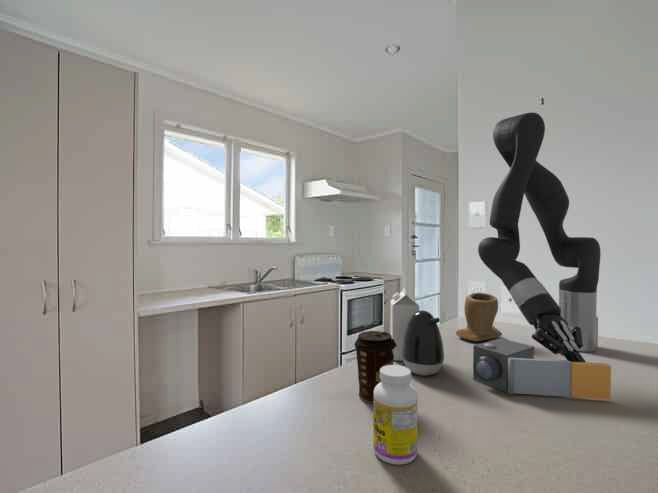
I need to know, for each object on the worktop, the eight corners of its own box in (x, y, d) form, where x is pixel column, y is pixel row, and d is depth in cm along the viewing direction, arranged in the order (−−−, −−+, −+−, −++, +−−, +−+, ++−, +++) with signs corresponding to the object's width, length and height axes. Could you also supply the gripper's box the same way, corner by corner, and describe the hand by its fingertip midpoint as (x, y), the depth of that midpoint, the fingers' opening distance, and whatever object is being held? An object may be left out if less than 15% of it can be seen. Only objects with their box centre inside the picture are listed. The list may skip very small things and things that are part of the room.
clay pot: (480, 347, 105) (480, 298, 104) (450, 337, 115) (450, 292, 115) (513, 340, 112) (513, 294, 111) (482, 331, 122) (482, 289, 122)
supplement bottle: (369, 441, 56) (369, 362, 56) (409, 439, 57) (409, 361, 56) (378, 468, 49) (378, 379, 49) (423, 466, 50) (424, 378, 50)
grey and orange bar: (605, 397, 71) (606, 362, 71) (611, 401, 69) (612, 365, 69) (506, 391, 74) (506, 357, 74) (509, 394, 72) (509, 360, 72)
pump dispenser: (421, 383, 78) (422, 317, 78) (393, 368, 88) (393, 308, 87) (454, 375, 83) (454, 312, 83) (423, 361, 92) (424, 305, 92)
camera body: (500, 369, 87) (500, 336, 86) (533, 381, 80) (534, 344, 80) (465, 382, 79) (466, 345, 79) (498, 395, 72) (499, 355, 72)
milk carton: (415, 353, 99) (415, 287, 99) (419, 361, 92) (419, 291, 92) (390, 352, 100) (390, 286, 100) (392, 361, 93) (392, 290, 93)
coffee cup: (399, 391, 74) (399, 331, 74) (393, 409, 66) (393, 342, 66) (359, 386, 77) (359, 328, 77) (349, 402, 69) (349, 338, 69)
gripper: (544, 308, 88) (592, 374, 77) (503, 311, 84) (547, 381, 73) (565, 291, 83) (619, 359, 71) (522, 292, 79) (572, 365, 67)
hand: (583, 370), depth 72 cm, fingers closed
